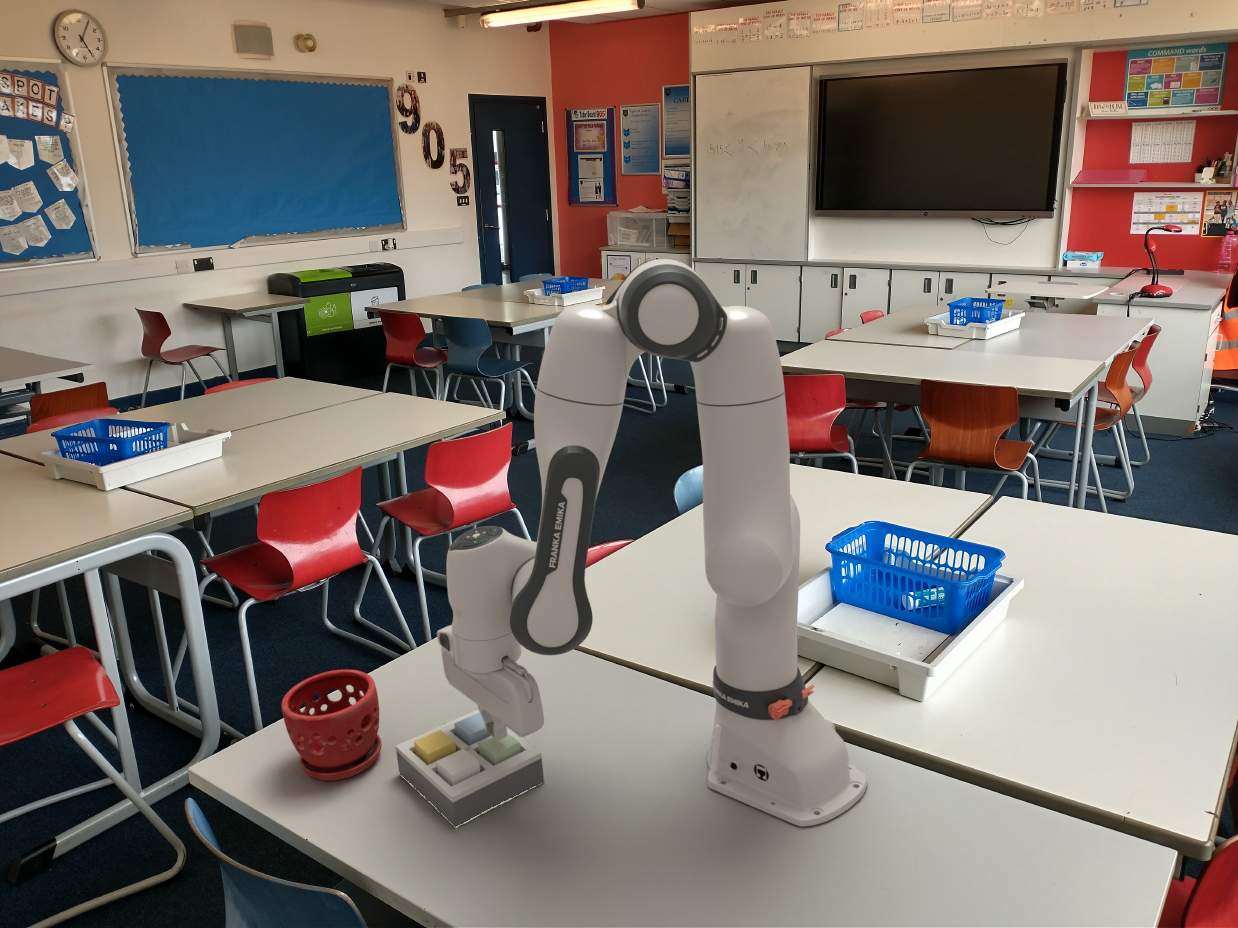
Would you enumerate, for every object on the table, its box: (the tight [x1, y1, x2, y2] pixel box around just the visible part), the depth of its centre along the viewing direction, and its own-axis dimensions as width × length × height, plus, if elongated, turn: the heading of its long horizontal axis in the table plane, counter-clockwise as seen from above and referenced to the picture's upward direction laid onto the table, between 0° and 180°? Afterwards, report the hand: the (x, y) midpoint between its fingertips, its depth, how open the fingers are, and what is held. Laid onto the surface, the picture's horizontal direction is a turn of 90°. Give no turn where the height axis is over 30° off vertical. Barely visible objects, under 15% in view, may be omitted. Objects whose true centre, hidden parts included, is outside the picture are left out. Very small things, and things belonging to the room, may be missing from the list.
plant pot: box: [281, 669, 383, 781], centre depth 137 cm, size 13×13×12 cm
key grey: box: [436, 749, 481, 787], centre depth 128 cm, size 4×4×3 cm
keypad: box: [394, 708, 545, 828], centre depth 133 cm, size 16×14×5 cm
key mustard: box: [414, 730, 456, 765], centre depth 133 cm, size 4×4×3 cm
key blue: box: [454, 712, 491, 746], centre depth 136 cm, size 4×4×3 cm
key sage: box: [478, 733, 521, 766], centre depth 132 cm, size 4×4×3 cm
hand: (496, 734), depth 131 cm, fingers closed
